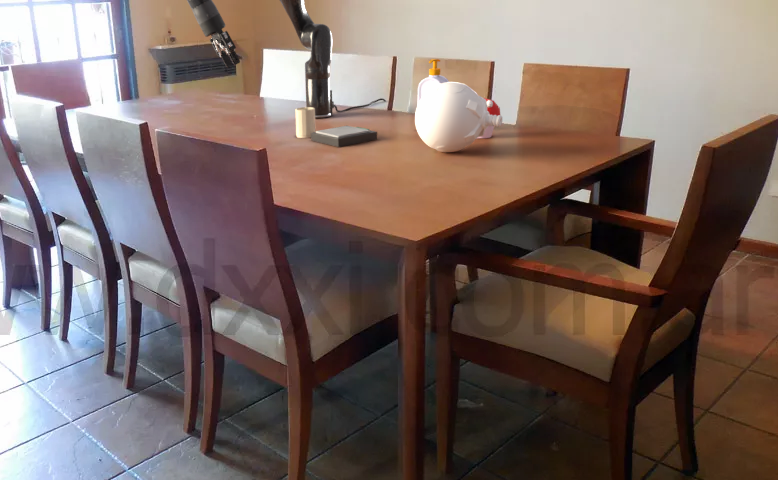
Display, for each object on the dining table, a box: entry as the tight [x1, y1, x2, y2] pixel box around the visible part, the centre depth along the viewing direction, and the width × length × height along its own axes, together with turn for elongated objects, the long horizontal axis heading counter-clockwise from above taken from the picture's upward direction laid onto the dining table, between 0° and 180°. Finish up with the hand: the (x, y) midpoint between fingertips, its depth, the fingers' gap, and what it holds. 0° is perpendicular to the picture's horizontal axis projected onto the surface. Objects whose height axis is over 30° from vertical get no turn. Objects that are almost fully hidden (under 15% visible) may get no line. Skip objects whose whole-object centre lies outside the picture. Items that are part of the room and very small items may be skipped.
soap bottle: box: [416, 58, 450, 107], centre depth 225 cm, size 9×7×23 cm
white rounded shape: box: [414, 81, 503, 153], centre depth 195 cm, size 20×25×20 cm
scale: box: [310, 125, 378, 148], centre depth 219 cm, size 16×14×3 cm
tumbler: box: [294, 106, 317, 139], centre depth 226 cm, size 6×6×9 cm
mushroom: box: [476, 97, 501, 139], centre depth 216 cm, size 11×11×12 cm
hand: (233, 65), depth 225 cm, fingers open, 8 cm apart
